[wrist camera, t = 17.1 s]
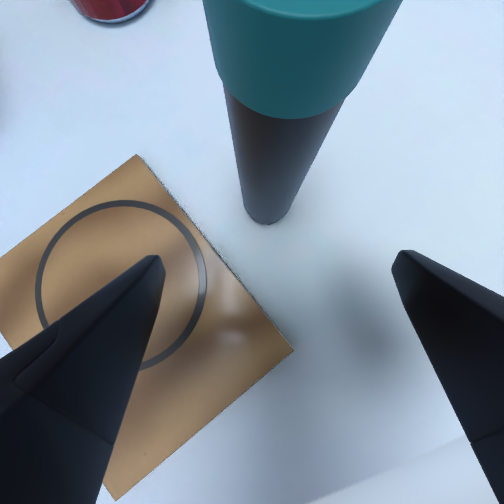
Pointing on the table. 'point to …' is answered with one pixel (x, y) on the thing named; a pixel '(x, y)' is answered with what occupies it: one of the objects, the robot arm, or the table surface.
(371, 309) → the table surface
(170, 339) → the sketch board
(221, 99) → the table surface
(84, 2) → the soda can
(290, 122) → the disc
